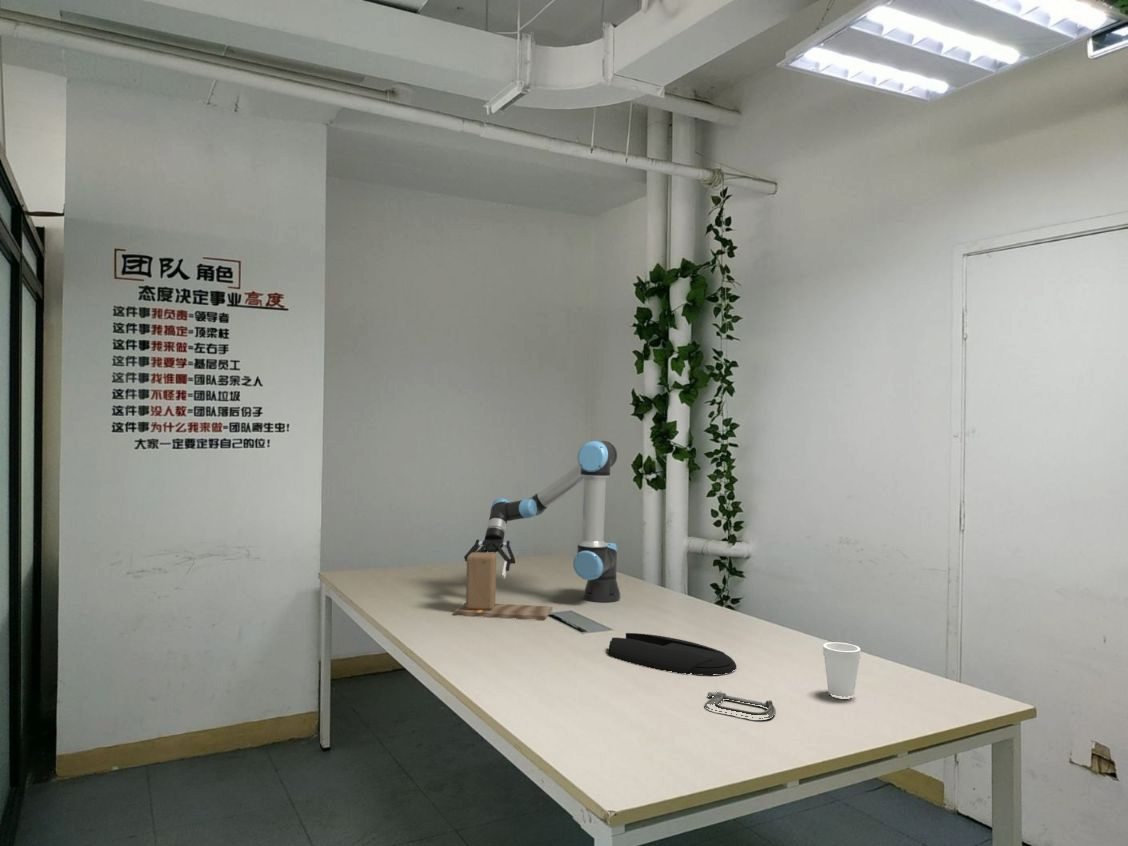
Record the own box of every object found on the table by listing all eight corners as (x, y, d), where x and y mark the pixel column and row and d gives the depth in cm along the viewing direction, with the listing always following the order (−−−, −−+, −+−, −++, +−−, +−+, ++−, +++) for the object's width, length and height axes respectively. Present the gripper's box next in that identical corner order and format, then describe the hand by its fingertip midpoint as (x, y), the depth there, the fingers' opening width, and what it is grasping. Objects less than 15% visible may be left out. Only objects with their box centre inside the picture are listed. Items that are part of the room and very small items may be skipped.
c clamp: (688, 708, 206) (688, 697, 206) (719, 691, 220) (719, 681, 220) (763, 727, 194) (763, 716, 194) (791, 708, 208) (791, 698, 208)
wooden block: (492, 610, 300) (493, 556, 300) (465, 609, 301) (466, 556, 301) (495, 604, 310) (496, 552, 310) (469, 604, 311) (470, 551, 311)
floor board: (552, 610, 309) (552, 606, 309) (544, 620, 294) (544, 615, 294) (466, 605, 315) (466, 601, 315) (454, 615, 299) (454, 610, 299)
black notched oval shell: (711, 684, 226) (712, 666, 226) (595, 656, 251) (595, 640, 251) (751, 664, 245) (752, 648, 245) (639, 640, 271) (640, 625, 271)
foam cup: (830, 687, 224) (831, 640, 224) (864, 695, 218) (865, 646, 218) (817, 696, 216) (817, 647, 216) (851, 704, 210) (852, 654, 210)
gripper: (527, 538, 329) (519, 583, 314) (467, 536, 332) (456, 580, 318) (524, 527, 323) (516, 572, 309) (463, 525, 327) (453, 569, 312)
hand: (486, 576), depth 313 cm, fingers open, 13 cm apart
